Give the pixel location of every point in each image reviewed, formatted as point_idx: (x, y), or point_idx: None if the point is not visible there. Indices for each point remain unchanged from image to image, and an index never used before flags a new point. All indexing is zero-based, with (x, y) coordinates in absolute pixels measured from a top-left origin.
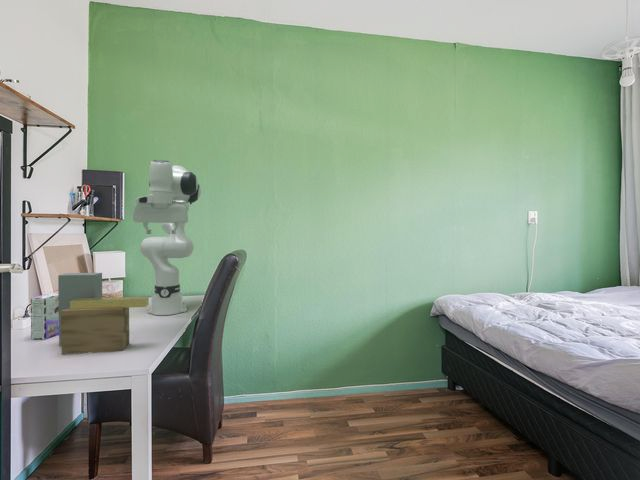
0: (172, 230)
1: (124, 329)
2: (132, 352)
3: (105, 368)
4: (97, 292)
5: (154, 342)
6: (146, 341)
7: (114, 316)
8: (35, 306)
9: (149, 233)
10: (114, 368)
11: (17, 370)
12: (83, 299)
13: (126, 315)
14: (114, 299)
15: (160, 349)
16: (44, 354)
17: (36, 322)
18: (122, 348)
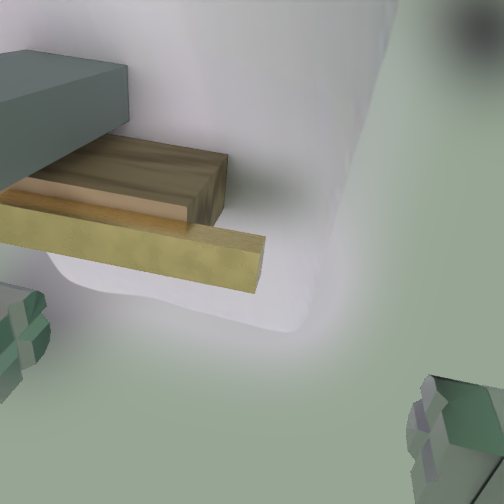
0: (434, 500)
1: (209, 218)
2: (252, 231)
3: (216, 306)
4: (21, 155)
5: (302, 164)
6: (276, 144)
7: None
8: None
9: (35, 345)
10: (234, 313)
11: (49, 253)
12: (25, 228)
13: (197, 219)
14: (140, 267)
15: (323, 234)
16: None
17: None
18: (221, 211)
